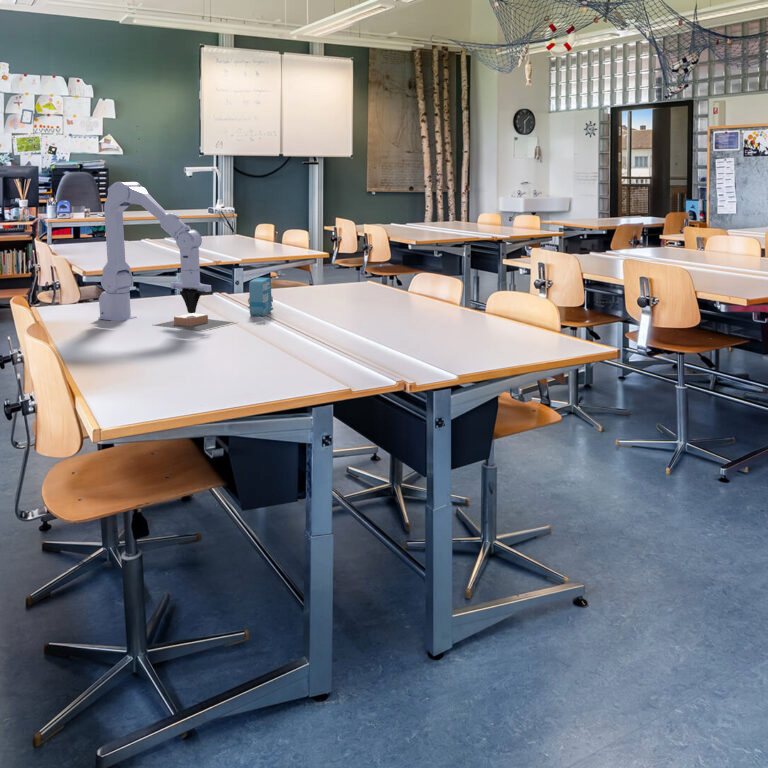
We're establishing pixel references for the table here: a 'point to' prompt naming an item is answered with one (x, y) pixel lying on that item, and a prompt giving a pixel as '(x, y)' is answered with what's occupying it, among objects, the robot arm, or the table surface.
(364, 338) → the table surface
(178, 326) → the mat
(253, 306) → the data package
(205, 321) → the card box
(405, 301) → the table surface
